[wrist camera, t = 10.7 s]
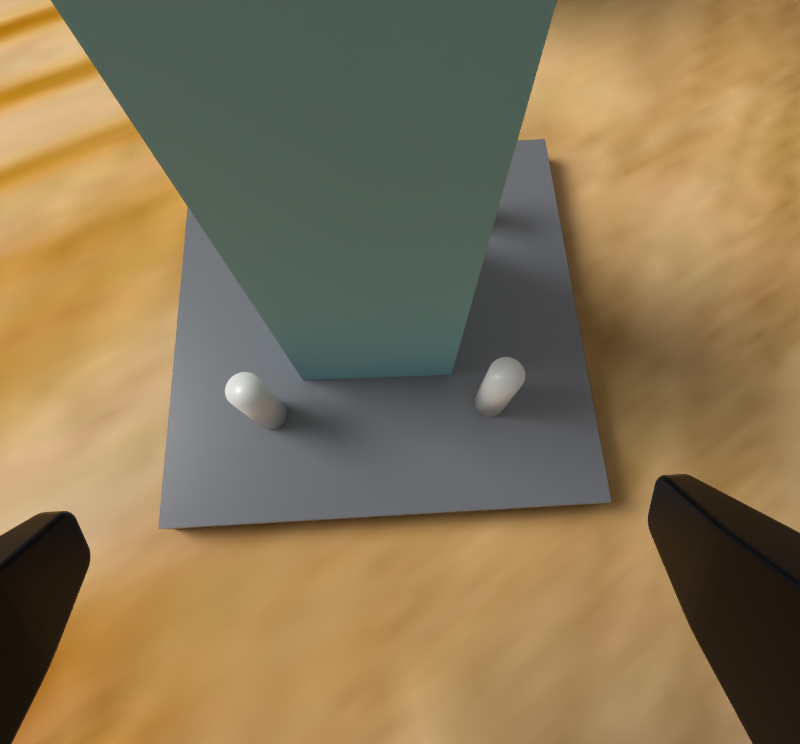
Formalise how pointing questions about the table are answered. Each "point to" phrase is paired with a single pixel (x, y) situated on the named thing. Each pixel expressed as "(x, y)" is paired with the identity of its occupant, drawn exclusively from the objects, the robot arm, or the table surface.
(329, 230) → the teal block
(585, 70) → the table surface
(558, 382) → the base plate
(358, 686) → the table surface
